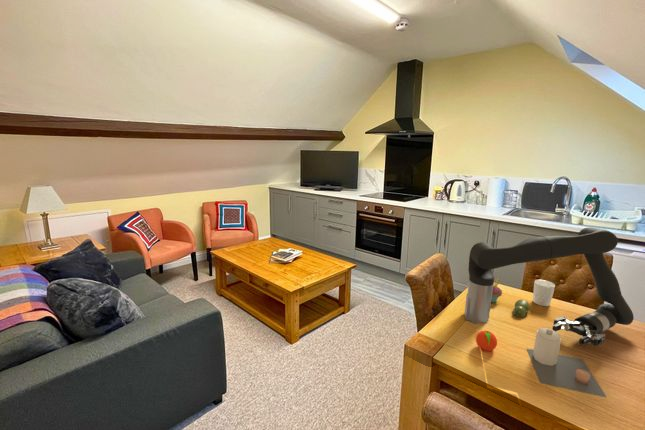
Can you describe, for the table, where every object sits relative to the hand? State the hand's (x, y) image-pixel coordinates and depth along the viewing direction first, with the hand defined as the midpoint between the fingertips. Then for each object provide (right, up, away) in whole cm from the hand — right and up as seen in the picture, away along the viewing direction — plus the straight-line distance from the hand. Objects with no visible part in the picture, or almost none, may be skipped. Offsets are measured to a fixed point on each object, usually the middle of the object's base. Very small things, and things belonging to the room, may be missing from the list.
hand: (566, 335), depth 115 cm
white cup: (+16, +2, +36) cm, 39 cm away
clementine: (-28, -7, +3) cm, 29 cm away
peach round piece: (-5, -10, -13) cm, 17 cm away
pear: (0, -1, +27) cm, 27 cm away
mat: (-8, -9, -8) cm, 15 cm away
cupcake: (-7, +2, +39) cm, 39 cm away
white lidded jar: (-10, -7, -3) cm, 13 cm away
